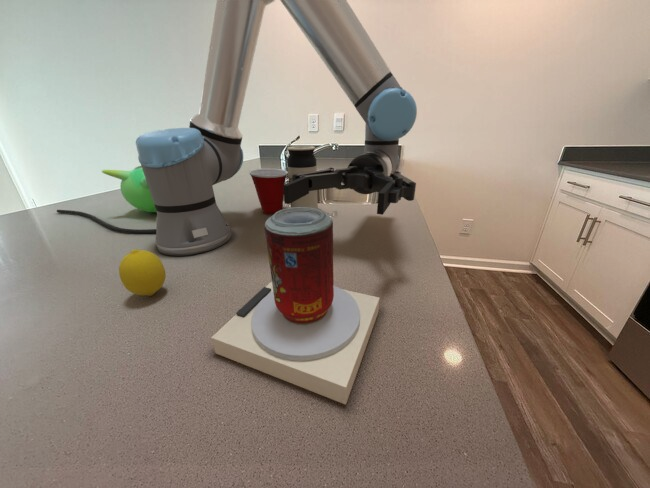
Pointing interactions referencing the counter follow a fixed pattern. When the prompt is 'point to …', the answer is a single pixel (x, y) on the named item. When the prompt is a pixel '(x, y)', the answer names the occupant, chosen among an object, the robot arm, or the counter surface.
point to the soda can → (301, 263)
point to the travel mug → (300, 163)
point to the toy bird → (134, 188)
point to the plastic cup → (269, 188)
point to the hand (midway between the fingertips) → (329, 199)
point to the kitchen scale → (302, 342)
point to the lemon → (142, 272)
